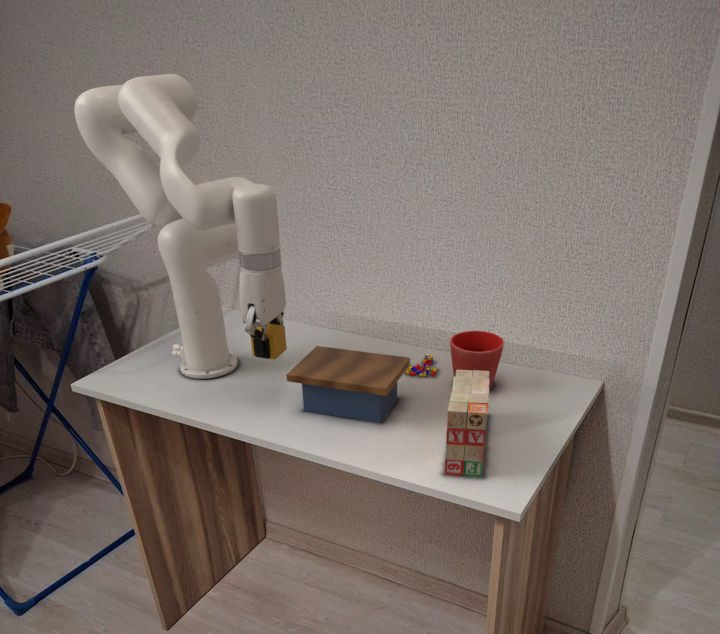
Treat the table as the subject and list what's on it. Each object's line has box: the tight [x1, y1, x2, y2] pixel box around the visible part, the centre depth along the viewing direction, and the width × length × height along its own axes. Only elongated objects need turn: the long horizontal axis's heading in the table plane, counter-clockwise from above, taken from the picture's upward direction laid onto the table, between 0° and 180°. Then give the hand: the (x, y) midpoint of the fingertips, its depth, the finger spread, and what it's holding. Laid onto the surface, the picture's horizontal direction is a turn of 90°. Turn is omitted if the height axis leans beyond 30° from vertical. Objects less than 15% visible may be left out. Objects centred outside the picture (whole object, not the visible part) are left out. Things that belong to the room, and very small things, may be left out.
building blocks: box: [405, 353, 438, 378], centre depth 146 cm, size 6×8×2 cm
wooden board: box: [286, 345, 411, 396], centre depth 129 cm, size 20×14×2 cm
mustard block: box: [250, 323, 287, 361], centre depth 132 cm, size 5×5×5 cm
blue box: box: [301, 382, 398, 424], centre depth 132 cm, size 16×10×7 cm, turn 69°
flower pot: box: [449, 330, 505, 390], centre depth 137 cm, size 11×11×10 cm
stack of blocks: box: [444, 370, 490, 478], centre depth 117 cm, size 21×6×12 cm, turn 169°
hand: (269, 350), depth 133 cm, fingers closed on mustard block, 5 cm apart
